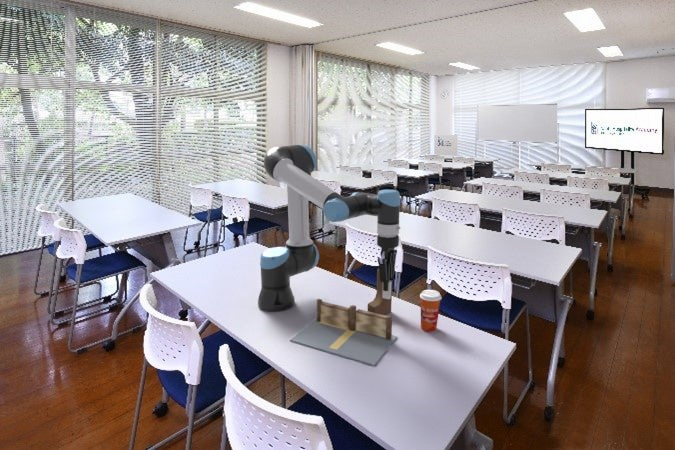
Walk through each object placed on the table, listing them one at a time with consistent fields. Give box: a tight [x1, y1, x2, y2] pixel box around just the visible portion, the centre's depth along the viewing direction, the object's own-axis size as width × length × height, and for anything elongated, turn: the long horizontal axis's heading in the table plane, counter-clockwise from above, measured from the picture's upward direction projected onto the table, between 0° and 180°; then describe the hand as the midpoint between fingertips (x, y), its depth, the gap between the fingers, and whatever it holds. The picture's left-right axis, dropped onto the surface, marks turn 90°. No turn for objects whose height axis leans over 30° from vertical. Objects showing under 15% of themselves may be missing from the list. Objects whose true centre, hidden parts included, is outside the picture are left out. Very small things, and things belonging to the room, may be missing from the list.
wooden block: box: [367, 268, 393, 315], centre depth 163 cm, size 9×4×18 cm, turn 125°
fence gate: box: [356, 308, 393, 339], centre depth 147 cm, size 14×2×8 cm, turn 62°
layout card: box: [289, 318, 398, 367], centre depth 146 cm, size 32×20×1 cm, turn 62°
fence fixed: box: [316, 298, 357, 331], centre depth 154 cm, size 16×2×9 cm, turn 62°
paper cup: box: [419, 289, 443, 333], centre depth 152 cm, size 8×8×14 cm
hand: (386, 297), depth 149 cm, fingers closed
